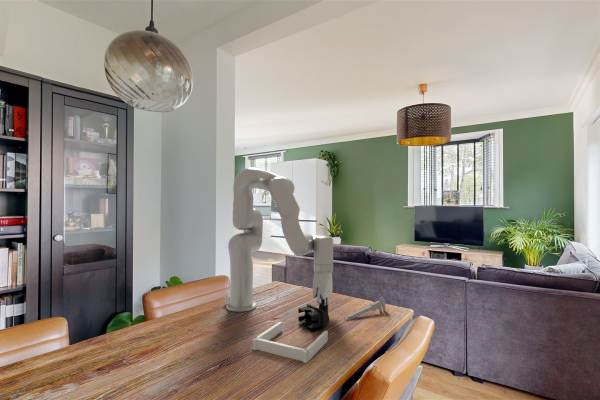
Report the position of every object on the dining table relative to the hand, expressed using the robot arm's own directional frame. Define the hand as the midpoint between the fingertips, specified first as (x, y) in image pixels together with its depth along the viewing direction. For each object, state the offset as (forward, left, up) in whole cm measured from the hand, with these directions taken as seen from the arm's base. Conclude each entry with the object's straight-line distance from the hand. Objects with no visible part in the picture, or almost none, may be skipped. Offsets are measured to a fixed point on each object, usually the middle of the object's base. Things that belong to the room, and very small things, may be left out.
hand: (323, 314), depth 119 cm
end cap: (0, -10, -1) cm, 10 cm away
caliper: (+14, +10, -2) cm, 17 cm away
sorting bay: (0, -26, -1) cm, 26 cm away
